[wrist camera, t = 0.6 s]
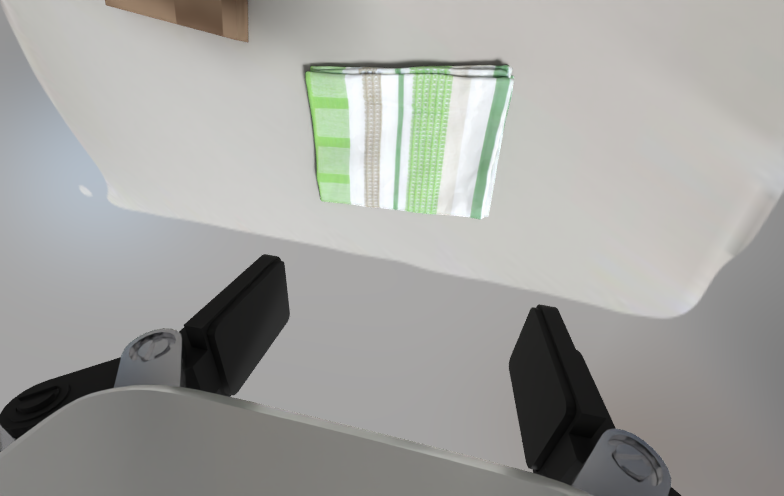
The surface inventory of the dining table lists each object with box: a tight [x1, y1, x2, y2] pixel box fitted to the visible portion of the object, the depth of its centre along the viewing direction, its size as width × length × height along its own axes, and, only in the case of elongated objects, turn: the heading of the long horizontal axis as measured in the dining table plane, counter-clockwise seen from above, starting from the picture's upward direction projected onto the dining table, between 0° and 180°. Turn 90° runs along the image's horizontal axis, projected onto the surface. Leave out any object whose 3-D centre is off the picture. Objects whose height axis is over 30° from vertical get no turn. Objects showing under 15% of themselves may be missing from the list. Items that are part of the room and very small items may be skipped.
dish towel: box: [305, 65, 514, 219], centre depth 36 cm, size 17×23×4 cm
